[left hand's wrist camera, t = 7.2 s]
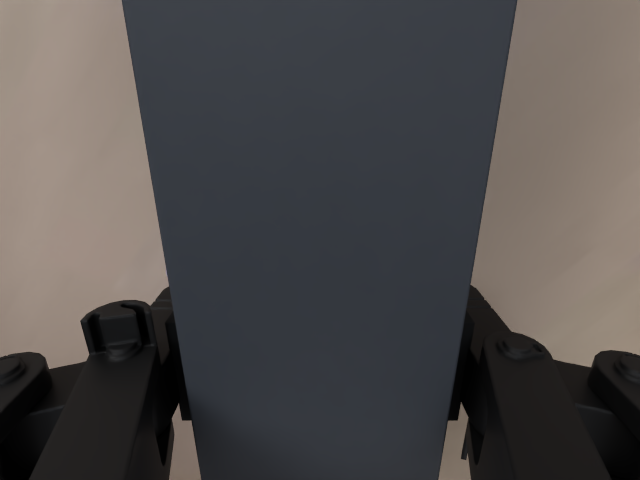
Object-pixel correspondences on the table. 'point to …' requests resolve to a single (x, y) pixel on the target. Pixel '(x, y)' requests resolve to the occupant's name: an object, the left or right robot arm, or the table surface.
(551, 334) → the table surface
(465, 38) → the beam
